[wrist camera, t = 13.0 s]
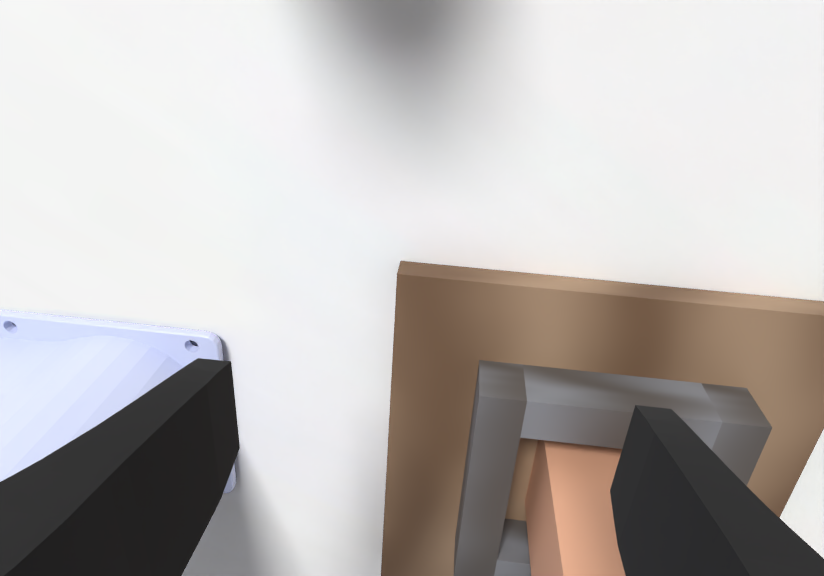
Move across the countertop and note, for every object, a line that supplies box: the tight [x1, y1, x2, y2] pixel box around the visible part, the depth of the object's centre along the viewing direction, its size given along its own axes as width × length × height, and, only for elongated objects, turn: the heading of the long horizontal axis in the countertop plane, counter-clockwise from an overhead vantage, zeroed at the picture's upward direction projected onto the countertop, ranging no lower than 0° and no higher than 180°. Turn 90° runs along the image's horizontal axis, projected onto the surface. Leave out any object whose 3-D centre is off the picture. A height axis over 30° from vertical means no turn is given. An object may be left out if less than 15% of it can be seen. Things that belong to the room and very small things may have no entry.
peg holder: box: [381, 261, 824, 576], centre depth 22 cm, size 15×15×3 cm
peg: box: [525, 440, 626, 576], centre depth 19 cm, size 4×4×8 cm
